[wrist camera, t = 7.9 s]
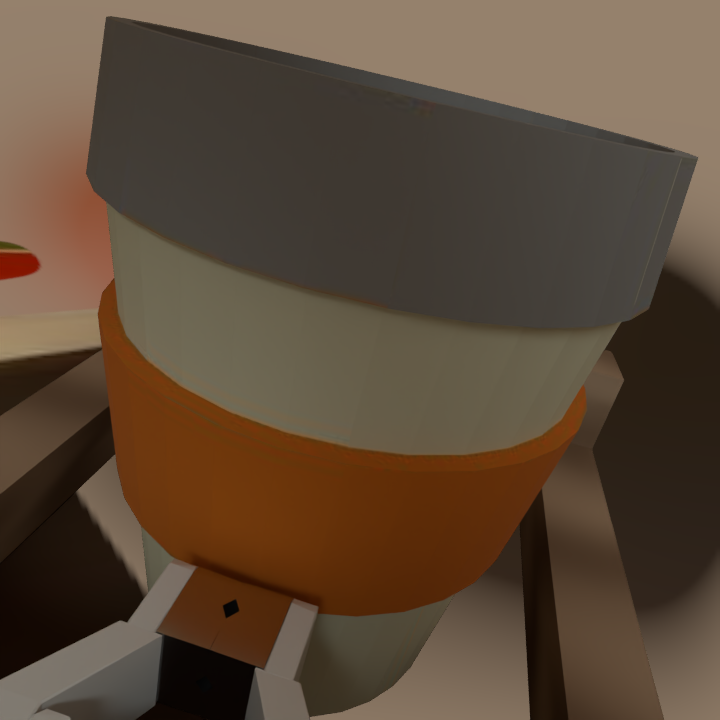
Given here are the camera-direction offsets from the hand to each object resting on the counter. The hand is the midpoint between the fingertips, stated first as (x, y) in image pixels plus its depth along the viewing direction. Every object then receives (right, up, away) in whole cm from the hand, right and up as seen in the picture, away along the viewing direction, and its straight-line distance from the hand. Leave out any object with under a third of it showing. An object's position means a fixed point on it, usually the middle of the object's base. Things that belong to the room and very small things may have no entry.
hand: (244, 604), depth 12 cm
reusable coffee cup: (0, -3, +8) cm, 8 cm away
